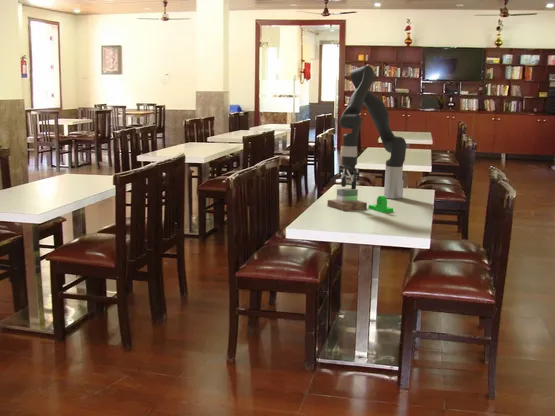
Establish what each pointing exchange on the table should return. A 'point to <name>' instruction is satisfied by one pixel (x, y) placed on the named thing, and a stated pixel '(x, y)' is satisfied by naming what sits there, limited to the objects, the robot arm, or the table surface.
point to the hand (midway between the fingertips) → (348, 187)
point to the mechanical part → (381, 205)
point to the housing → (347, 195)
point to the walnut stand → (347, 205)
